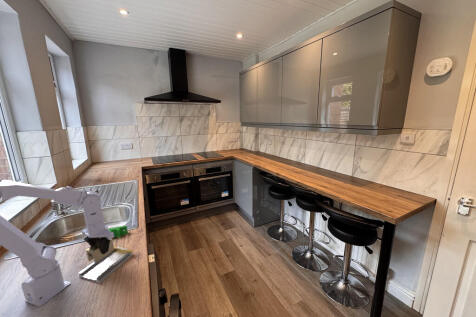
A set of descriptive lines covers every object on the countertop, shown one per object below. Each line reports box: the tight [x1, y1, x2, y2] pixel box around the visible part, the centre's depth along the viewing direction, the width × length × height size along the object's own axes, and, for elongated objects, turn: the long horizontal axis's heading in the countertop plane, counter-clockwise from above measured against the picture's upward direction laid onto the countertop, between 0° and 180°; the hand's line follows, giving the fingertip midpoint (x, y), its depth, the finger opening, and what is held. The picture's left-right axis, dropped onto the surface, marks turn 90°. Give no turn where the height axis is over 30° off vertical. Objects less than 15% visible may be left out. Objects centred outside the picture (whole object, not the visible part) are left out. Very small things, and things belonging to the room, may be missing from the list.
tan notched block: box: [85, 238, 115, 263], centre depth 78 cm, size 8×4×5 cm, turn 163°
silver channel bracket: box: [77, 245, 134, 284], centre depth 81 cm, size 16×11×3 cm
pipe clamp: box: [107, 225, 129, 239], centre depth 100 cm, size 11×4×5 cm, turn 110°
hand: (101, 251), depth 78 cm, fingers closed on tan notched block, 4 cm apart
